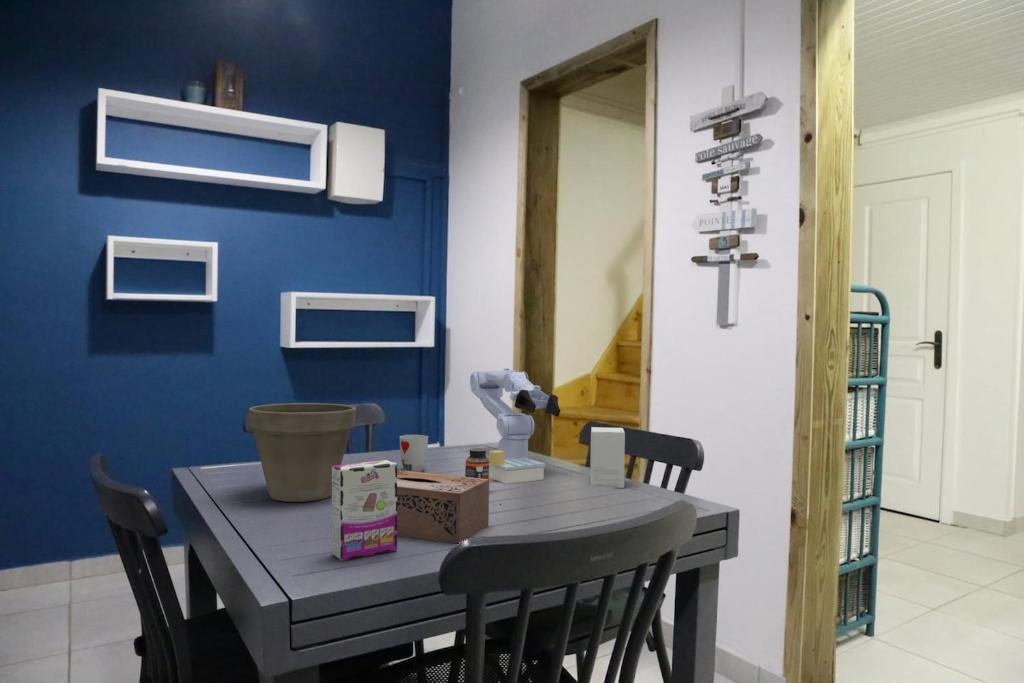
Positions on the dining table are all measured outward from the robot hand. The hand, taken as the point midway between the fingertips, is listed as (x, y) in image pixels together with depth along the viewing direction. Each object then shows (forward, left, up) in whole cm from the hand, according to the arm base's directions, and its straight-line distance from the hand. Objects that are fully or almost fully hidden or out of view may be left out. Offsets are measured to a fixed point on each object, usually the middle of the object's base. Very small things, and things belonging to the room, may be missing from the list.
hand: (546, 411), depth 194 cm
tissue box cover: (+23, -48, -20) cm, 57 cm away
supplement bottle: (+4, -23, -20) cm, 31 cm away
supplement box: (+10, +14, -20) cm, 26 cm away
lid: (-5, -7, -15) cm, 17 cm away
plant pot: (-15, -61, -20) cm, 66 cm away
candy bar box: (+34, -64, -20) cm, 75 cm away
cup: (-29, -25, -20) cm, 43 cm away
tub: (-5, -6, -19) cm, 21 cm away
